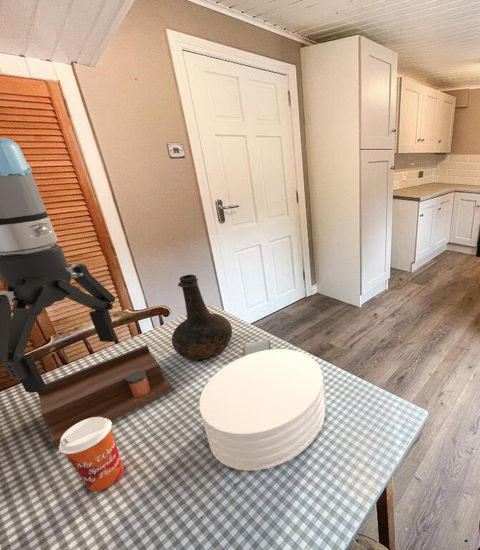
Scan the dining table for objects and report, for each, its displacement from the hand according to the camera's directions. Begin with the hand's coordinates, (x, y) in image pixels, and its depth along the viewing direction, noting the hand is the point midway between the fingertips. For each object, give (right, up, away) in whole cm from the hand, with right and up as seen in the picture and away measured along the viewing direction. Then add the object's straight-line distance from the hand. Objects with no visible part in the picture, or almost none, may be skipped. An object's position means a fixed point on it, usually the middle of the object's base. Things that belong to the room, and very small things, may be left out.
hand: (77, 362), depth 54 cm
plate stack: (+27, -21, +23) cm, 42 cm away
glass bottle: (-3, -11, +50) cm, 51 cm away
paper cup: (-3, -27, +9) cm, 29 cm away
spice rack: (-18, -19, +29) cm, 39 cm away
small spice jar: (-10, -16, +29) cm, 34 cm away
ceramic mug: (+17, -14, +43) cm, 49 cm away
